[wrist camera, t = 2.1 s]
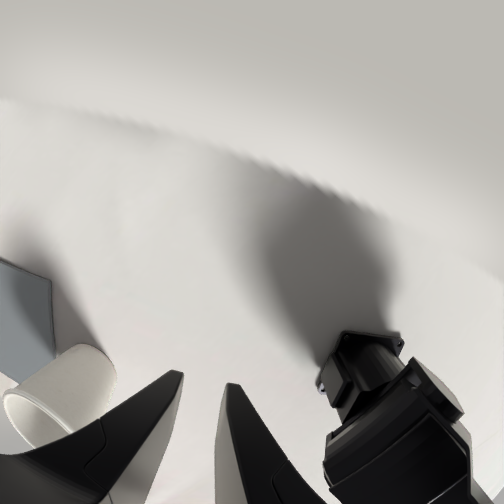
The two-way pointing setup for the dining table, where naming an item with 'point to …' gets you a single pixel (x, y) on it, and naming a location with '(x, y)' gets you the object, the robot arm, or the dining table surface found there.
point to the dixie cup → (62, 395)
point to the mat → (24, 323)
